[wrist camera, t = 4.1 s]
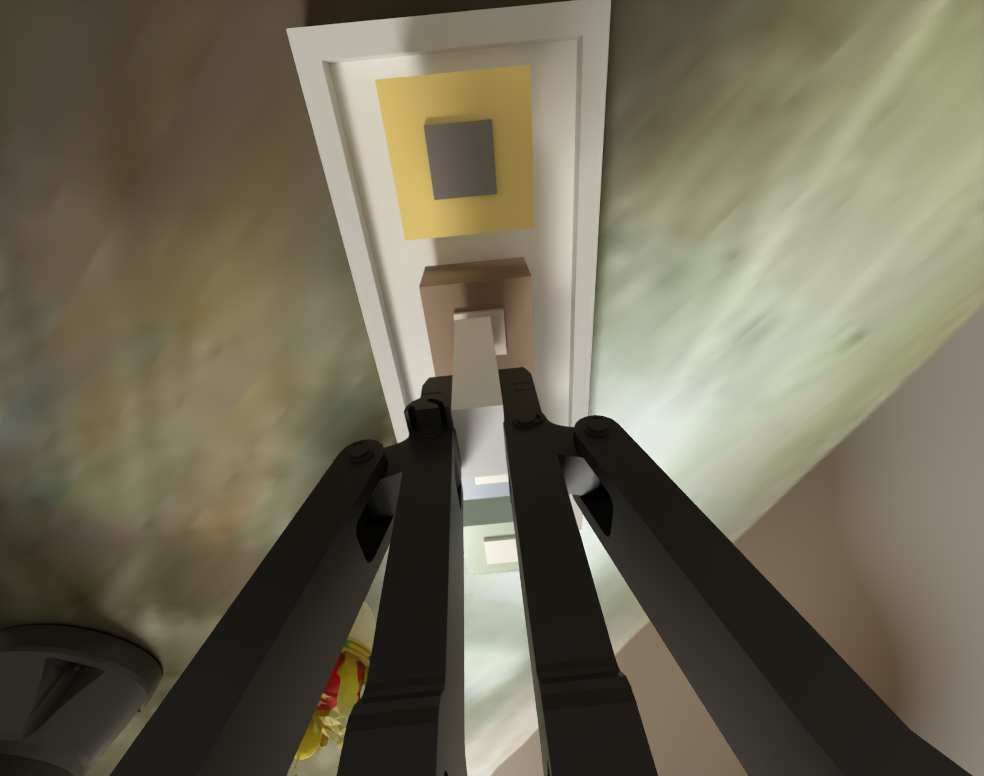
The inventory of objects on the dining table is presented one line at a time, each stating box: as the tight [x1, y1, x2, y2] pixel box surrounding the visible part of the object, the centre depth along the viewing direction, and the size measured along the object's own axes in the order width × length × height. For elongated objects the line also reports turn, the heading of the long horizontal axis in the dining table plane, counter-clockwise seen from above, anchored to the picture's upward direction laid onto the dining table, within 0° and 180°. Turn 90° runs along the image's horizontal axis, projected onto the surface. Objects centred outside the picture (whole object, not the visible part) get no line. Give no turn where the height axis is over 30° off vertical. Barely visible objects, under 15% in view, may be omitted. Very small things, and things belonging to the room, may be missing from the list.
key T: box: [419, 257, 535, 377], centre depth 20 cm, size 5×5×3 cm
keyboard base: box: [286, 0, 611, 530], centre depth 24 cm, size 12×30×2 cm, turn 5°
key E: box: [463, 496, 519, 576], centre depth 27 cm, size 5×5×3 cm
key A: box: [375, 65, 534, 241], centre depth 15 cm, size 5×5×3 cm
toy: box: [292, 601, 376, 776], centre depth 28 cm, size 7×7×15 cm
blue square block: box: [461, 473, 510, 500], centre depth 23 cm, size 5×5×3 cm
